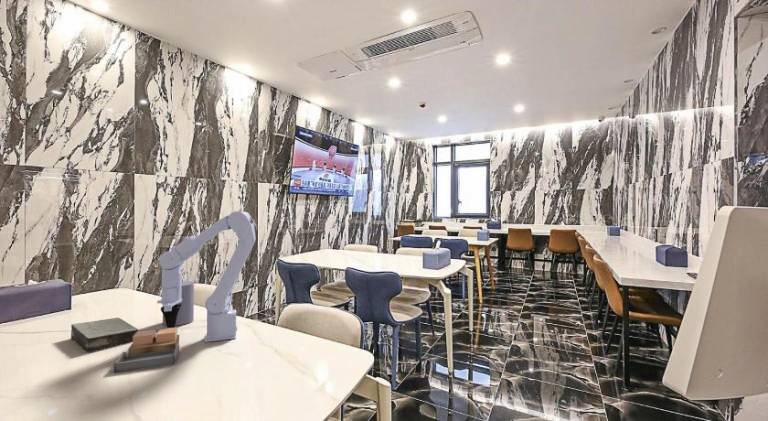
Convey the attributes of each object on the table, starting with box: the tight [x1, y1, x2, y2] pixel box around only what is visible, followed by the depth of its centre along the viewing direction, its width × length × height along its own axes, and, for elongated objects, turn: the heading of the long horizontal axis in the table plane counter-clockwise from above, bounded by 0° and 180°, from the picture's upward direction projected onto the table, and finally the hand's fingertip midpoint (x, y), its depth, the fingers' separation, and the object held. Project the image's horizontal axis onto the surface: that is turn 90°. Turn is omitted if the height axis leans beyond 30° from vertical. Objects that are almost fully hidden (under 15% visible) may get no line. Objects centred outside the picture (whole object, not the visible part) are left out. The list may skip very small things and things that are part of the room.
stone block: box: [70, 317, 139, 353], centre depth 118 cm, size 14×20×5 cm
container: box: [162, 280, 195, 327], centre depth 136 cm, size 10×10×15 cm
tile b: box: [132, 329, 157, 345], centre depth 108 cm, size 5×5×2 cm
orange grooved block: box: [127, 334, 180, 355], centre depth 108 cm, size 12×8×3 cm, turn 113°
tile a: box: [156, 326, 179, 343], centre depth 111 cm, size 5×5×2 cm
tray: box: [113, 344, 180, 374], centre depth 100 cm, size 14×9×2 cm, turn 113°
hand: (171, 327), depth 118 cm, fingers closed
